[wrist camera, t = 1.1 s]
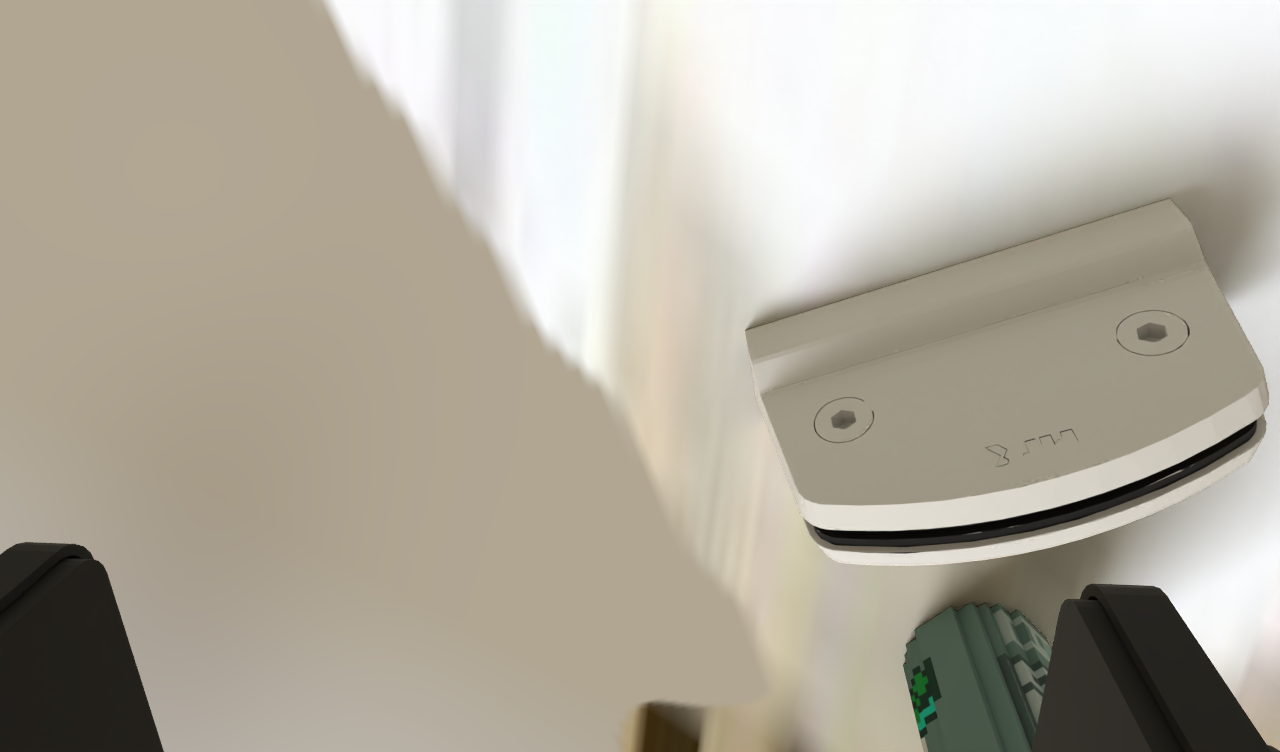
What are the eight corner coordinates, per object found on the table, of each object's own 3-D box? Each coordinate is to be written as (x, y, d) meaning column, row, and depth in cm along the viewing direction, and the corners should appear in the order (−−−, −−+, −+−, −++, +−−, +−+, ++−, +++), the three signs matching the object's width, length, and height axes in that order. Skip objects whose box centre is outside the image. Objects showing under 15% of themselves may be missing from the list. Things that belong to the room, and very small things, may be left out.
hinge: (1181, 193, 33) (1350, 385, 26) (1180, 291, 36) (1330, 488, 29) (735, 333, 37) (769, 535, 29) (767, 411, 40) (805, 612, 32)
